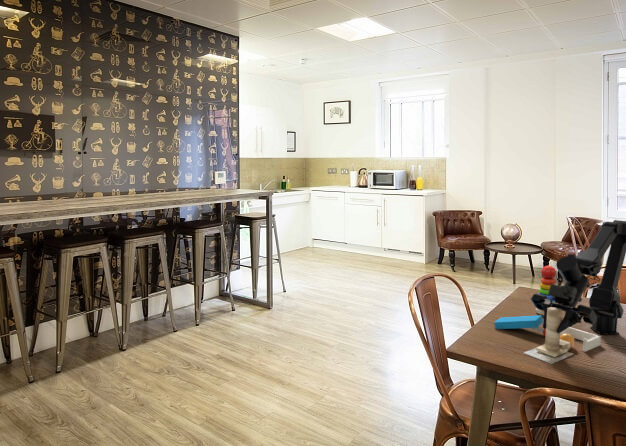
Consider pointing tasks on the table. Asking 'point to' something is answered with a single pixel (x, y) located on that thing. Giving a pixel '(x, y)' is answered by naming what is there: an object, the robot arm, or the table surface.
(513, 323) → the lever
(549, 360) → the grey rectangular plate
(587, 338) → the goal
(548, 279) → the stacking toy
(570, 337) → the ball
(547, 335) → the beige peg stand
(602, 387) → the table surface
